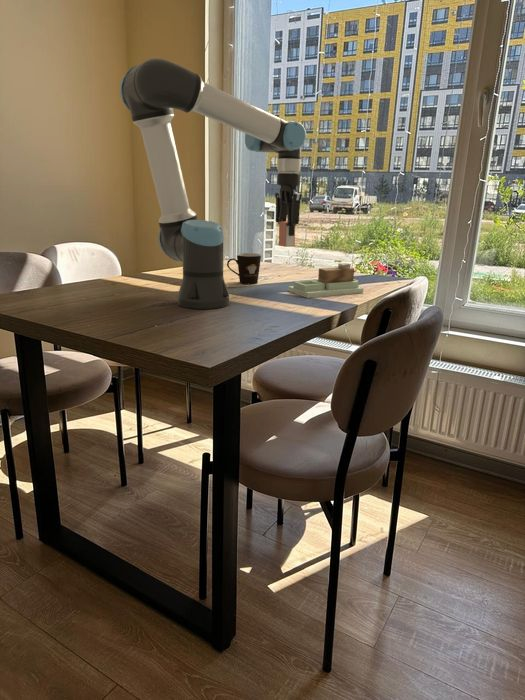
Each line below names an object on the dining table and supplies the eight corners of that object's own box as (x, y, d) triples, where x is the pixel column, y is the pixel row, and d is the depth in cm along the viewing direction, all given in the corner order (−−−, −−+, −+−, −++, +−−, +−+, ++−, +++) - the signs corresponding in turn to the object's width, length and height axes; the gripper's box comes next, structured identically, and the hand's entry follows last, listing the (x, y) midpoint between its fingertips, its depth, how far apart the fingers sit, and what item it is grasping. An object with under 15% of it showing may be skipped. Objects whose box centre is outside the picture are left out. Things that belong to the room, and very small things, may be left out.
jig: (307, 297, 162) (308, 286, 161) (288, 290, 172) (288, 280, 171) (363, 292, 172) (364, 282, 171) (342, 286, 182) (343, 276, 181)
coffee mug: (261, 281, 189) (262, 253, 186) (259, 285, 180) (259, 256, 177) (230, 279, 190) (230, 252, 187) (226, 284, 181) (226, 255, 178)
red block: (284, 246, 175) (285, 222, 172) (278, 245, 178) (279, 221, 176) (294, 246, 177) (295, 222, 174) (288, 244, 180) (289, 221, 177)
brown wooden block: (324, 288, 169) (326, 265, 167) (317, 286, 173) (319, 263, 171) (352, 286, 174) (354, 264, 171) (345, 284, 178) (347, 262, 175)
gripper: (312, 173, 165) (308, 247, 172) (285, 173, 179) (283, 241, 186) (292, 172, 161) (289, 247, 168) (266, 172, 176) (264, 242, 183)
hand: (285, 244), depth 177 cm, fingers closed on red block, 4 cm apart
